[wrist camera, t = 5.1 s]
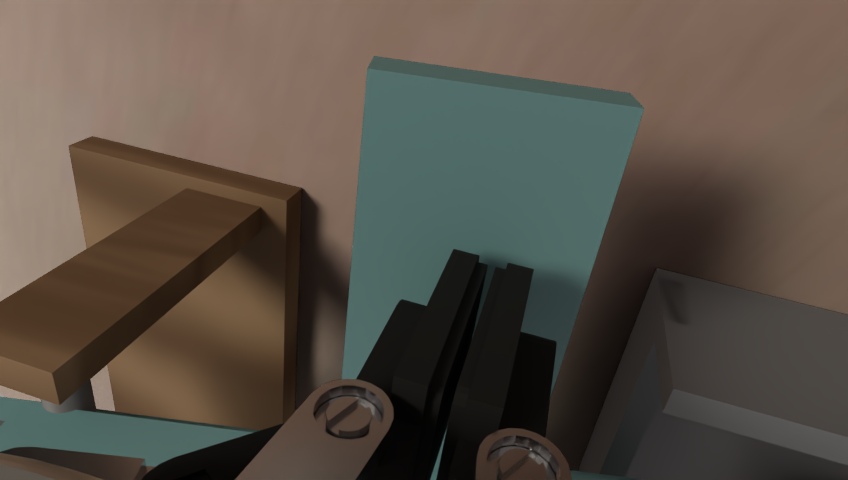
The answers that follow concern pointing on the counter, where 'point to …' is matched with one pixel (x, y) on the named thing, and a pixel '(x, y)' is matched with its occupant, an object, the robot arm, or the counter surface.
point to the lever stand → (167, 293)
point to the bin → (725, 389)
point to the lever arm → (427, 227)
